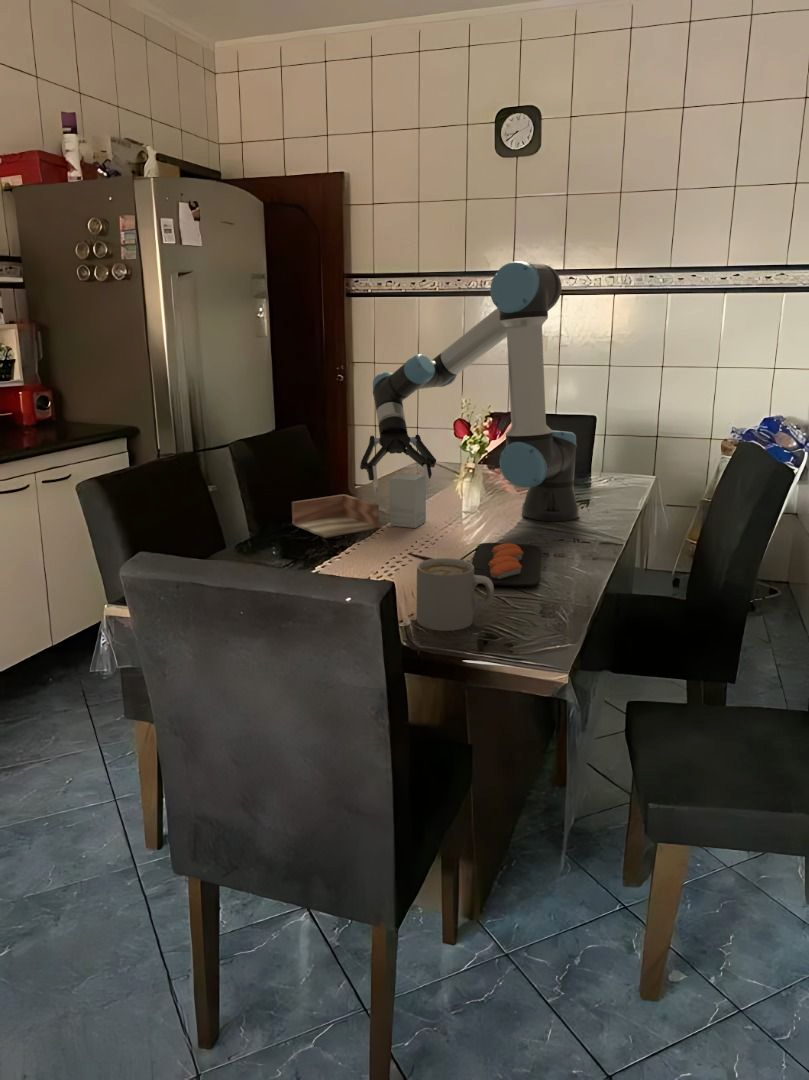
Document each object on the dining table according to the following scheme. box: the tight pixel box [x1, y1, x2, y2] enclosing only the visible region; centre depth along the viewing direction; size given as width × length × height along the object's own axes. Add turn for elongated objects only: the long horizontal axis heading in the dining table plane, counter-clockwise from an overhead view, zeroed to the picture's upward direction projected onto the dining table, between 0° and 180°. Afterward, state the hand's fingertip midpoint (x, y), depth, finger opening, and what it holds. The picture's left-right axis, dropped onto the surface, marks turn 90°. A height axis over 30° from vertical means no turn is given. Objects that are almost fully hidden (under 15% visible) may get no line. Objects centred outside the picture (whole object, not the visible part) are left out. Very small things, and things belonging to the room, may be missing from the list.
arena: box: [291, 493, 380, 539], centre depth 205 cm, size 16×16×6 cm
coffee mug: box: [416, 557, 495, 632], centre depth 140 cm, size 13×10×10 cm
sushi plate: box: [407, 542, 542, 587], centre depth 173 cm, size 29×30×4 cm
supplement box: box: [388, 472, 427, 529], centre depth 206 cm, size 7×7×13 cm
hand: (402, 489), depth 208 cm, fingers open, 13 cm apart
